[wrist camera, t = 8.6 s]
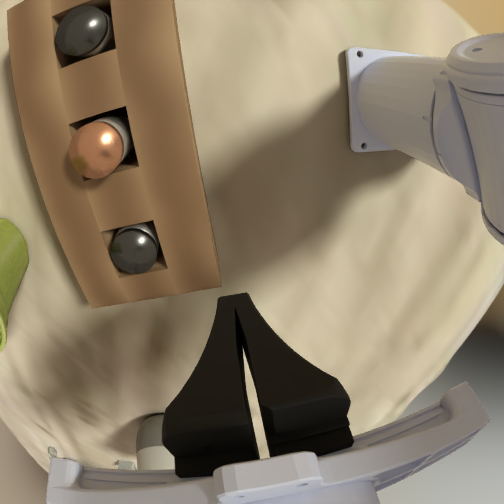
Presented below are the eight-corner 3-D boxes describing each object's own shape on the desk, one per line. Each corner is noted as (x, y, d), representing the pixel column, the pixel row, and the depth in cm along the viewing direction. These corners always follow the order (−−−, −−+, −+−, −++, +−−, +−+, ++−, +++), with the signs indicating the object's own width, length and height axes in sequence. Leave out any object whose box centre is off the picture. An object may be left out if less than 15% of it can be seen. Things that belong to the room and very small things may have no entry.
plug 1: (118, 10, 13) (103, -2, 10) (124, 50, 15) (108, 44, 12) (76, 25, 13) (53, 17, 10) (81, 64, 15) (58, 63, 12)
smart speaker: (128, 425, 37) (126, 510, 25) (153, 400, 34) (154, 503, 22) (183, 440, 41) (190, 519, 29) (215, 418, 38) (228, 509, 26)
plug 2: (156, 204, 21) (149, 228, 18) (166, 241, 22) (162, 269, 19) (117, 213, 20) (104, 237, 17) (129, 249, 22) (119, 276, 19)
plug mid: (129, 109, 16) (114, 115, 13) (139, 154, 18) (127, 170, 15) (85, 122, 16) (63, 132, 13) (96, 166, 17) (77, 184, 14)
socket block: (170, -30, 13) (165, -51, 9) (217, 255, 25) (221, 286, 21) (35, 17, 12) (7, 10, 9) (102, 277, 24) (91, 308, 20)
